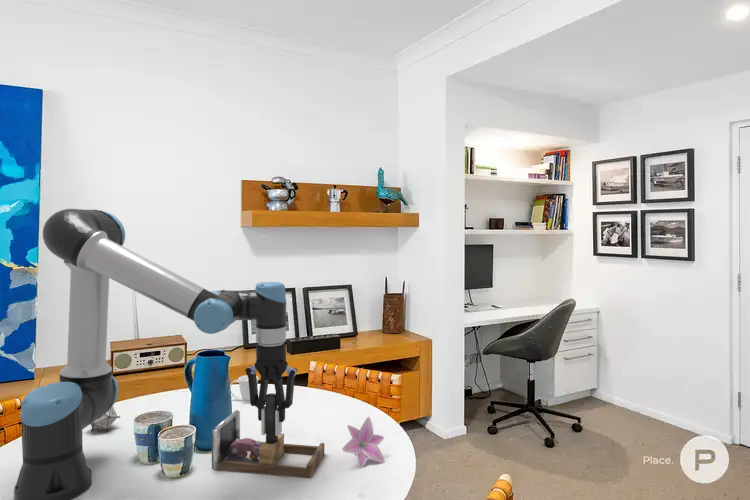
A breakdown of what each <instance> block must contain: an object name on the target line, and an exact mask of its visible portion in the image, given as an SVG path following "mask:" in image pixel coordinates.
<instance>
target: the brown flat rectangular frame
mask: <svg viewBox="0 0 750 500" xmlns="http://www.w3.org/2000/svg"><path fill="white" fill-rule="evenodd" d="M260 442H261V443H263V444H264V443H265V442H266V441H260ZM285 453H286V454H295V455H309V456H311V458H310V459H309V461H308V462H307V464H306V467H305V466H304V467H303V466H296V465H295V466H293V465H282V464H275V465H271V464H259V462H257V463H256V462H246V461H232V460H224V461H223V460H220V461H219V462H218V470H217V471H226V472H228V471H229V472H239V473H249V474H250V473H251V474H260V475H262V474H263V475H273V476H282V477H283V476H284V477H295V478H306V479H307V478H308V479H311V478H312V476H313V474H314V473H315V471H316V469H317V468H318V467H319V464H320V462H321V461H322V459H323V458H324V455H325V443H324V442H320V443H319V445H306V444H305V445H303V444H292V443H291V444H290V443H284V453H283V454H285Z"/></svg>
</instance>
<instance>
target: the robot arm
mask: <svg viewBox="0 0 750 500" xmlns="http://www.w3.org/2000/svg"><path fill="white" fill-rule="evenodd" d="M45 221H46V222H45V223H44V226H43V229H42V239H43V241H44V244H45V246H46V248H47V249H48V251H50V252H51V253H52V254H53V255H54V256H56V257H57V258H59V259H61V260H63V264H64V265H65V266H66V267H67V268H69V270H70V281H69V282H70V283H69V305H68V306H69V308H68V310H69V312H68V330H67V331H68V333H67V335H68V336H67V356H66V357H67V358H66V359H67V361H66V365H65V366H64V367H63V368H61V370H59V381H57V382H51V383H48V384H47V385H41V386H39V387H37V388H34V389H33V390H30V391H29V392H28V393H27V394H25V396H24V397H23V399H22V400H21V409H20V415H19V417H20V418H19V419H20V421H21V422H20V423H21V450H22V464H21V468H20V471H19V474H18V477H17V481H16V484H15V486H14V488H13V489H14V490H13V500H73V499H74V498H77V497H78V496H80V495H82V494H83V493H86V492H87V490H88V489H90V487H91V486H92V484H93V473H92V469H91V468H90V467H89V465H88V461H87V459H86V456H85V453H84V450H83V449H84V448H83V447H84V446H83V430H85V428H87V427H88V426H91V423H92V422H94V421H95V420H97V419H98V418H100V417H102V416H103V415H104V414H106V413H107V412H108V411H109V410H110V408H111V407H112V406H113V407H114V405H115V403H116V401H117V400H118V398H119V397H118V396H119V391H120V390H119V384H118V383H119V382H118V381H117V379H116V378H114V375H113V367H112V366H111V364H108V363H107V344H108V343H107V339H108V338H107V337H108V320H109V318H108V317H109V315H108V314H109V296H110V295H109V293H110V291H109V290H110V289H109V288H110V280H113V281H115V282H116V283H119V284H120V285H122V286H124V287H126V288H129V290H132V291H134V292H137V294H140V295H142V296H144V297H146V298H148V299H150V300H152V301H153V302H156V303H158V304H159V305H162V306H164V307H166V308H168V309H170V310H172V311H174V312H175V313H178V314H179V315H182V316H184V317H186V318H187V319H189V320H192V321H193V322H194V324H195V326H196V327H197V329H198V330H199V331H201V332H202V333H204V334H207V335H209V334H210V335H214V334H217V333H220V332H223V331H225V330H226V329H228V328H229V327H230V325H231V324H233V323H234V322H236V321H255V342H256V343H257V344H256V345H255V356H256V357H255V358H256V361H255V363H254V364H253V365H250V366H248V367H247V368H245V369H244V371H245V374H246V375H247V376H248V381H249V392H250V406H251V407H255V408H257V419H258V421H261V424H260V425H261V435H263V436H266V395H267V394H268V387H269V382H270V380H272V382H273V383H272V384H273V385H274V390H275V394H276V398H277V404H278V408H277V409H276V410H275V436H279V434H282V432H283V422H285V420H286V409H289V408H290V407H291V406H292V405H293V401H294V389H295V377H296V375H297V373H298V368H296V367H294V368H292V366H289V364H288V361H287V344H286V343H285V342H287V321H286V320H287V316H286V315H287V298H286V286H285V284H284V283H282V282H280V281H279V282H278V281H267V282H266V281H264V282H258V283H256V284H255V289H252V290H225V289H221V290H212V291H211V290H208V289H206V288H205V287H202V286H200V285H198V284H197V283H195V282H192V281H191V280H189V279H187V278H185V277H183V276H181V275H179V274H177V273H176V272H173V271H171V270H170V269H167V268H165V267H163V266H161V265H159V264H157V263H156V262H155V261H152V260H150V259H148V258H146V257H144V256H142V255H140V254H138V253H137V252H134V251H133V250H131V249H129V248H127V247H125V246H124V244H125V240H126V231H125V228H124V225H123V223H122V221H121V220H120V219H118V217H117V216H115V215H114V214H113V213H110V212H108V211H103V210H99V209H78V208H65V209H61V210H58V211H56V212H55V213H53V214H52V215H51V216H49V217H48V219H47V220H45ZM285 372H286V376H287V379H286V387H285V391H284V384H283V375H284V373H285ZM257 373H258V374H259V375H260V378H259V379H260V380H259V383H260V386H259V390H258V384H257V377H256V376H257ZM258 391H259V392H258Z"/></svg>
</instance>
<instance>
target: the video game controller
mask: <svg viewBox="0 0 750 500" xmlns="http://www.w3.org/2000/svg"><path fill="white" fill-rule="evenodd" d="M261 442H262V441H260V440H255V439H253V438H250V437H244V438H240V440H239V439H238V438H237V439H236V440H235V441H234V442H232V444H231V445H230V447H229V449H230V451H231V452H232V453H231V454H234V455H236V456H237V457H239V458H240V459H243V460H244V459H247V457H248V455H249V457H248V458H249V459H250V460H252V461H257V460H259V448H260V447H261V446H262V445H263V443H261ZM249 452H250V453H249Z"/></svg>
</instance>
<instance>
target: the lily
mask: <svg viewBox="0 0 750 500" xmlns="http://www.w3.org/2000/svg"><path fill="white" fill-rule="evenodd" d="M347 430H348V431H349V435H350V437H351V439H350V440H349V441H348V442H347V443H346V444H345V445H344V446H343V447H342V449H341V450H342V452H344V453H349V454H354V455H355V456H356V455H357V460H358V465H359V469H362V468H363V467H364V466H365V465H366V463H367V461H368V459H372V460H373V461H375V462H378V463H381V464H384V463H385V458H384V455H383V453H382V451H381V449H380V448H379V446H378V445H380V444H381V443H382V442H383V441H384V439H385V437H384V436H383V435H380V434H374V427H373V421H372V419H371V417H370V416H368V417H366V419H365V420H364V421H363V424H362V425H361V427H360V428H359V429H358V428H357V427H355V426H352V425H350V424H348V425H347Z"/></svg>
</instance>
